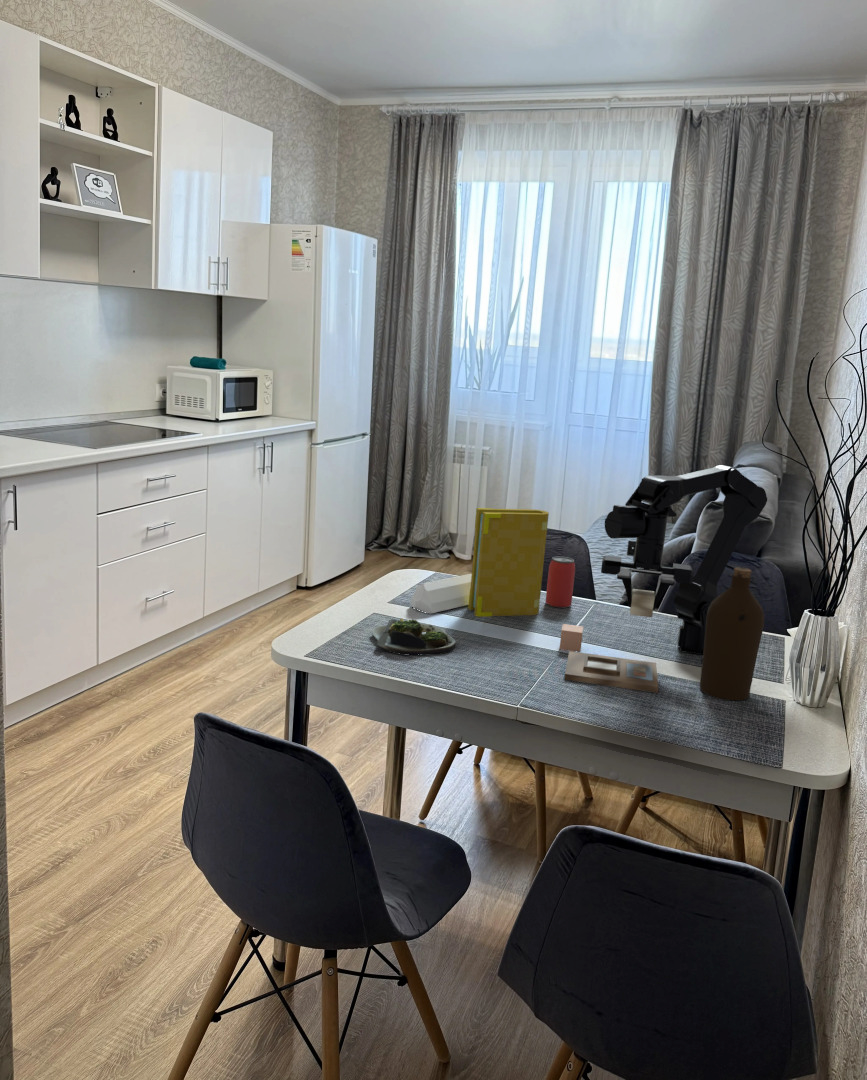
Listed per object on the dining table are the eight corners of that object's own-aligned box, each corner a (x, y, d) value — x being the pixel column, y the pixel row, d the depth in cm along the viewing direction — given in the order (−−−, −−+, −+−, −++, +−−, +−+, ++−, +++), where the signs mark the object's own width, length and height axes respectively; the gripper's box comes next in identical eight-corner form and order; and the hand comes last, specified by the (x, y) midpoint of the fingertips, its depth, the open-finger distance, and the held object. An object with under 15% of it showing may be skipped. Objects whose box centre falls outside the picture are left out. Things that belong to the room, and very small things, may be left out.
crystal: (432, 603, 207) (499, 588, 224) (414, 582, 210) (482, 569, 227) (419, 625, 211) (486, 609, 228) (402, 604, 214) (469, 589, 231)
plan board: (655, 668, 186) (656, 659, 185) (657, 692, 172) (659, 683, 172) (568, 656, 189) (569, 647, 189) (564, 679, 176) (565, 669, 175)
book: (476, 616, 212) (485, 513, 206) (468, 608, 218) (476, 507, 212) (542, 615, 216) (553, 514, 211) (532, 607, 223) (542, 509, 217)
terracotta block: (581, 646, 197) (583, 626, 196) (580, 652, 192) (582, 632, 191) (560, 643, 197) (562, 623, 196) (559, 649, 193) (561, 630, 192)
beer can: (563, 610, 222) (568, 563, 219) (540, 604, 226) (545, 558, 223) (575, 605, 227) (580, 559, 224) (553, 599, 231) (558, 554, 228)
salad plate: (356, 628, 198) (357, 608, 197) (432, 625, 204) (433, 606, 203) (381, 659, 180) (383, 637, 179) (463, 654, 186) (465, 633, 185)
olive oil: (764, 699, 173) (784, 575, 167) (721, 704, 169) (740, 577, 163) (726, 679, 182) (744, 561, 177) (685, 683, 178) (702, 563, 173)
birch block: (651, 611, 192) (654, 591, 191) (652, 617, 187) (654, 596, 186) (630, 608, 193) (632, 588, 192) (630, 614, 188) (632, 594, 187)
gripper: (693, 534, 192) (684, 603, 196) (606, 524, 196) (598, 593, 199) (697, 545, 182) (687, 618, 185) (605, 534, 185) (596, 606, 189)
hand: (641, 608), depth 190 cm, fingers closed on birch block, 4 cm apart
